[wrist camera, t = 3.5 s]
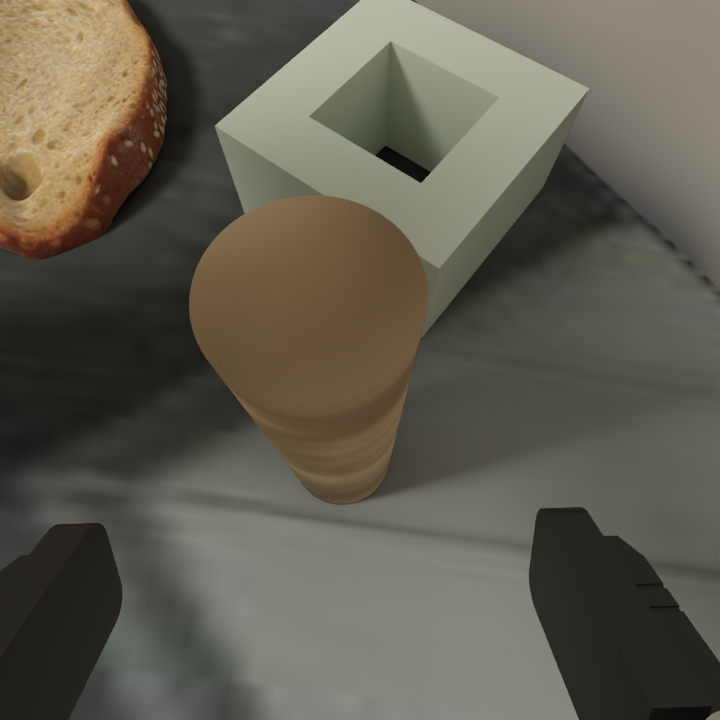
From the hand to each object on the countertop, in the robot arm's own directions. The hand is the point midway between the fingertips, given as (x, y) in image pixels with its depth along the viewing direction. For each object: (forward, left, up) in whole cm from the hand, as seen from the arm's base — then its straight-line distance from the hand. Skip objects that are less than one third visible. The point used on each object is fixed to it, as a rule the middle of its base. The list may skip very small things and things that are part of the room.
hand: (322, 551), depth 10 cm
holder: (-9, +15, -11) cm, 21 cm away
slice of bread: (-29, +9, -12) cm, 32 cm away
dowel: (-3, +3, -11) cm, 12 cm away
